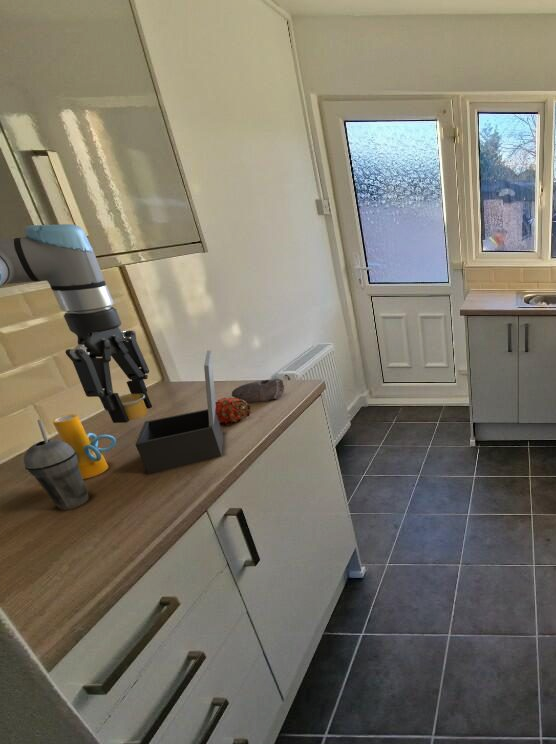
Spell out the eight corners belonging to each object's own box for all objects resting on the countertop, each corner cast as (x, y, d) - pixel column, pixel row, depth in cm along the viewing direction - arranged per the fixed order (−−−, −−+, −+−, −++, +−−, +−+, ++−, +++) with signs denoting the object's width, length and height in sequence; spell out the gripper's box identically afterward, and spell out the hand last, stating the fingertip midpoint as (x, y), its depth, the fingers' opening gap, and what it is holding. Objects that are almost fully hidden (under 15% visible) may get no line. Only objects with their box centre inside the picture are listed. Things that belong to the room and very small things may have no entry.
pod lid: (204, 365, 96) (208, 365, 96) (207, 350, 106) (211, 350, 106) (209, 426, 101) (213, 425, 101) (211, 406, 110) (215, 406, 111)
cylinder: (80, 463, 102) (53, 409, 96) (131, 456, 105) (108, 403, 99) (47, 493, 92) (14, 435, 86) (104, 484, 95) (76, 427, 88)
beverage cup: (41, 514, 86) (-8, 430, 78) (80, 492, 92) (39, 412, 84) (69, 518, 84) (22, 433, 76) (107, 495, 91) (68, 415, 83)
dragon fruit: (258, 424, 123) (213, 436, 120) (256, 400, 127) (212, 411, 124) (245, 412, 116) (197, 425, 113) (242, 387, 120) (196, 398, 117)
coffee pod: (137, 421, 87) (130, 404, 86) (109, 422, 87) (101, 405, 85) (157, 408, 93) (151, 392, 91) (131, 409, 92) (123, 393, 91)
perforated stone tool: (231, 408, 130) (225, 387, 127) (236, 401, 135) (230, 381, 132) (284, 401, 134) (279, 382, 131) (287, 395, 139) (282, 376, 136)
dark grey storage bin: (148, 476, 98) (135, 444, 94) (156, 451, 107) (144, 421, 104) (222, 458, 104) (212, 427, 101) (223, 436, 114) (214, 407, 111)
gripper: (109, 299, 89) (148, 396, 98) (18, 322, 72) (76, 437, 81) (145, 298, 89) (180, 395, 98) (64, 321, 72) (115, 436, 81)
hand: (133, 414), depth 90 cm, fingers closed on coffee pod, 6 cm apart
